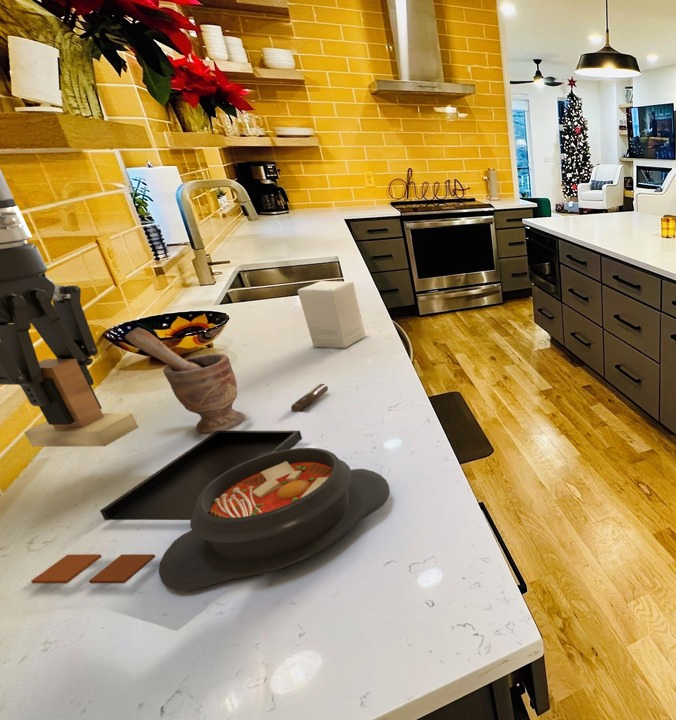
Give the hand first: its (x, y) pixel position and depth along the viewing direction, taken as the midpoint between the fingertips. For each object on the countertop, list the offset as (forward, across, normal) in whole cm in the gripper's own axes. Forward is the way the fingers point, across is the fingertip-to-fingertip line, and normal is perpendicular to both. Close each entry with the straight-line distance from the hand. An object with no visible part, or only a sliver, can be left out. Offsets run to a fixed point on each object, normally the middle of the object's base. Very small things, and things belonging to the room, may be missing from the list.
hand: (76, 416), depth 69 cm
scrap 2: (+13, -16, -17) cm, 27 cm away
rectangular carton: (+13, +60, -1) cm, 61 cm away
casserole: (+13, -9, -32) cm, 35 cm away
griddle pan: (+13, +12, -14) cm, 22 cm away
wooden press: (+3, 0, 0) cm, 3 cm away
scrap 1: (+12, -16, -11) cm, 23 cm away
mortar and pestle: (+13, +16, -2) cm, 21 cm away
